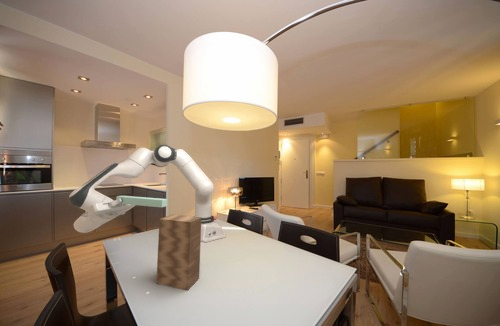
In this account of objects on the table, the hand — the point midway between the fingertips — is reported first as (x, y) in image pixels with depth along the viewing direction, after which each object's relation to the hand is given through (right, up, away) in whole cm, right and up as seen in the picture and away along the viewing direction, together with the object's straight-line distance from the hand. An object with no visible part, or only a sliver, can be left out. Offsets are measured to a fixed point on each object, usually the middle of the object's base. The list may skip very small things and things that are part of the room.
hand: (126, 198), depth 83 cm
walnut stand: (+27, -31, -9) cm, 42 cm away
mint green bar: (+8, -2, -2) cm, 8 cm away
